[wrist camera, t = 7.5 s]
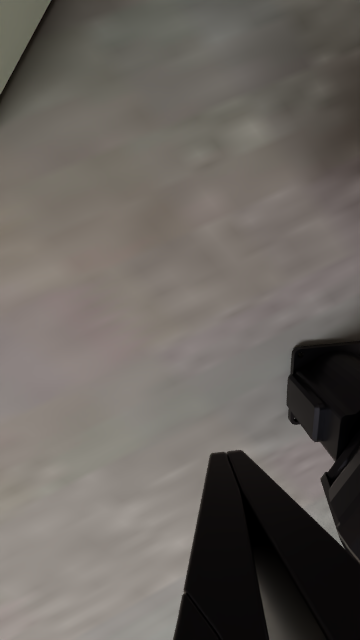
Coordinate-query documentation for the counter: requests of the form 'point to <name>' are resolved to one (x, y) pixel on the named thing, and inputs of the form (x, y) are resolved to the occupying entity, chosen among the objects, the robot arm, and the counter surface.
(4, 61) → the door
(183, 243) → the counter surface
